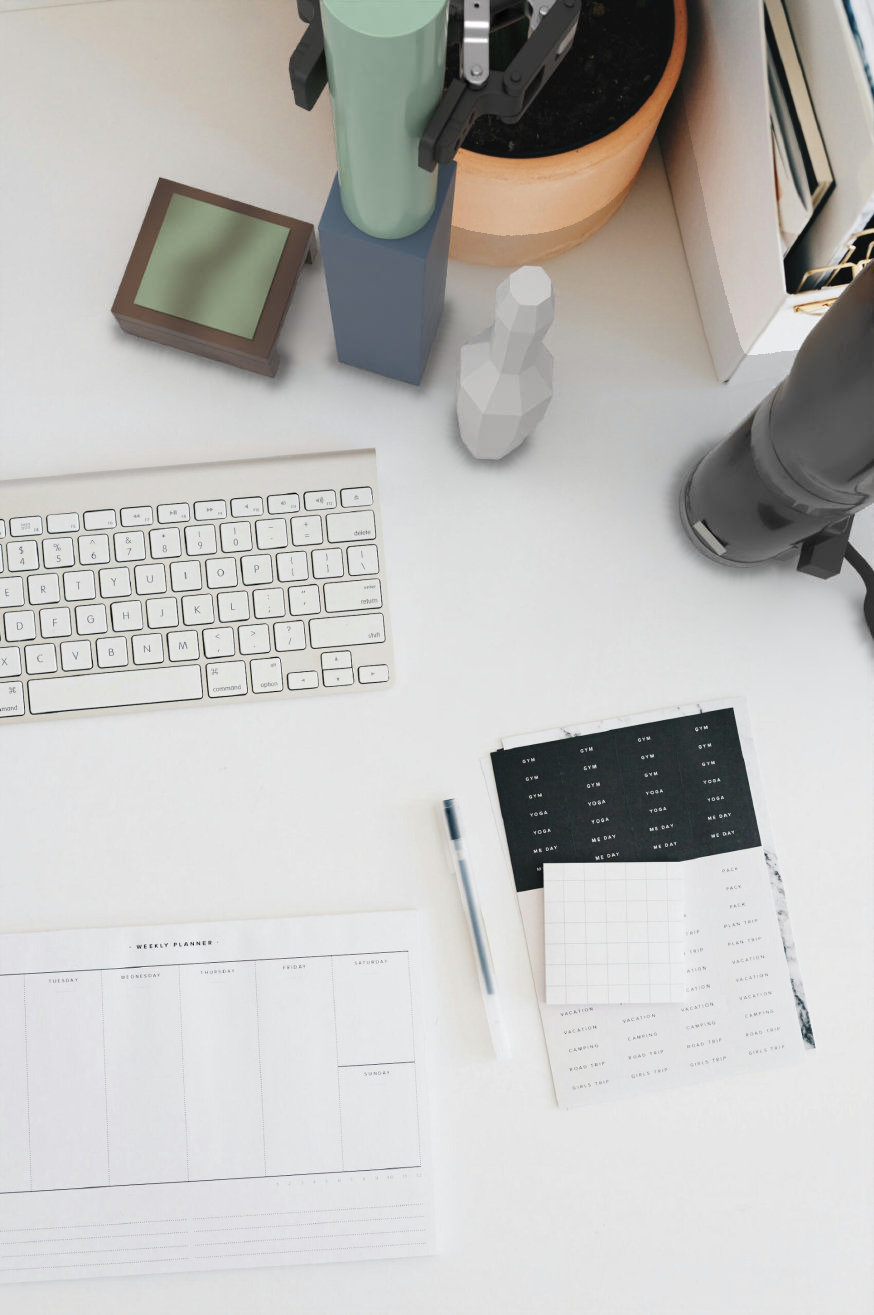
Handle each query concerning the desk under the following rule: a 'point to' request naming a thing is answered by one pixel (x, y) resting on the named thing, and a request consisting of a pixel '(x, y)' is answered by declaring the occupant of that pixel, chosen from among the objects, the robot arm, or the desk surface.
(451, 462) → the desk surface
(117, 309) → the brown green square block
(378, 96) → the mint green cylinder
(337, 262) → the plinth
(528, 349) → the faceted bottle
